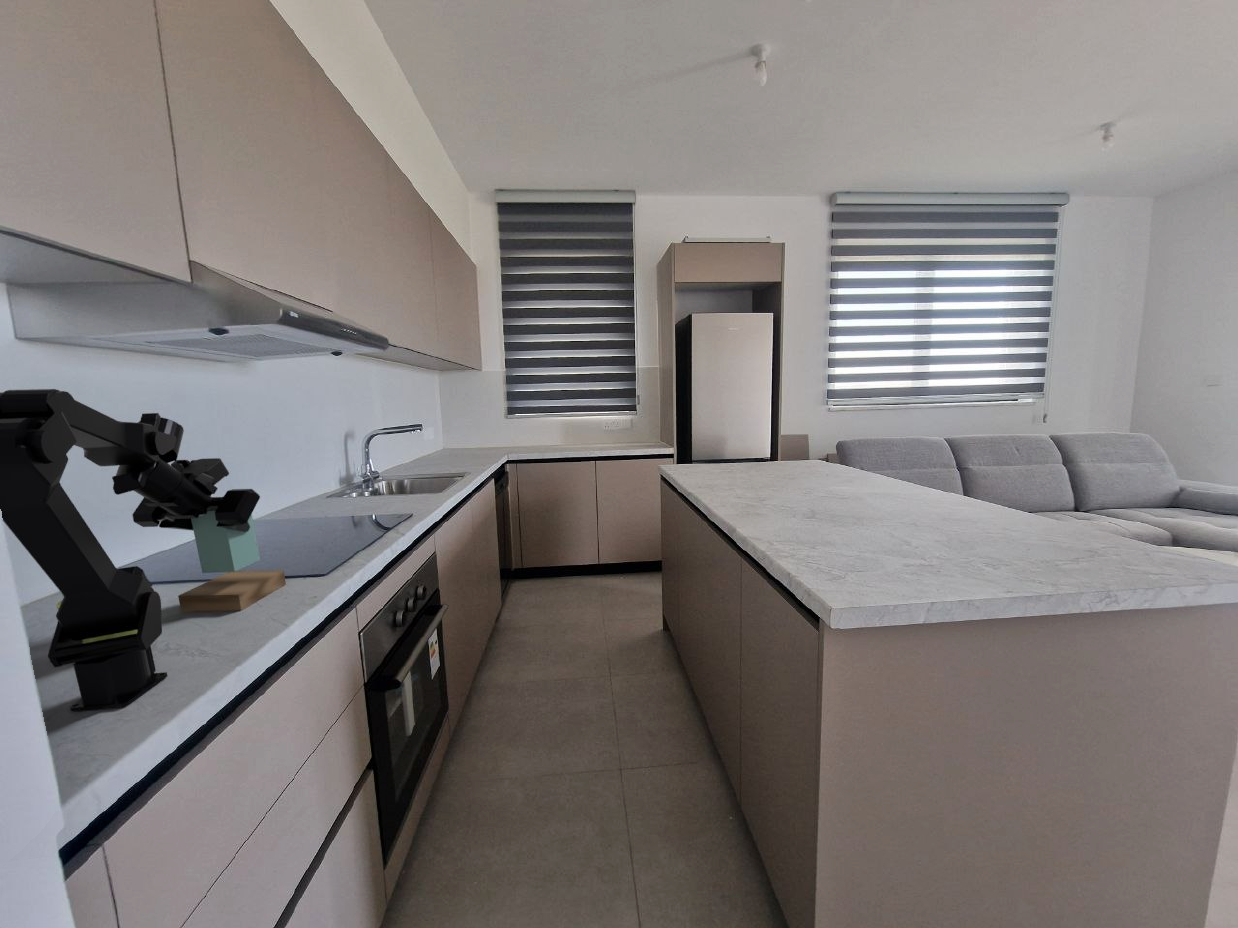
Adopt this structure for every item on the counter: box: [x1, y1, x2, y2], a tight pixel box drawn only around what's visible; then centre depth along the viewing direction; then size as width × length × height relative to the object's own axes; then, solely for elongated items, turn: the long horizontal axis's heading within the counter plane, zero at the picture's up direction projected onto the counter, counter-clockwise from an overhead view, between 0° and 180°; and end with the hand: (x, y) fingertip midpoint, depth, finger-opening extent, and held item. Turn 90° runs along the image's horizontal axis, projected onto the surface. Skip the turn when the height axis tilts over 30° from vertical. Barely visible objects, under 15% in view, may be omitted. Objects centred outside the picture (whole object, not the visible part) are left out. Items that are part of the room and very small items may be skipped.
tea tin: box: [191, 511, 261, 574], centre depth 87 cm, size 6×6×12 cm
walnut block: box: [177, 569, 287, 612], centre depth 88 cm, size 11×11×3 cm
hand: (231, 529), depth 88 cm, fingers closed on tea tin, 6 cm apart
